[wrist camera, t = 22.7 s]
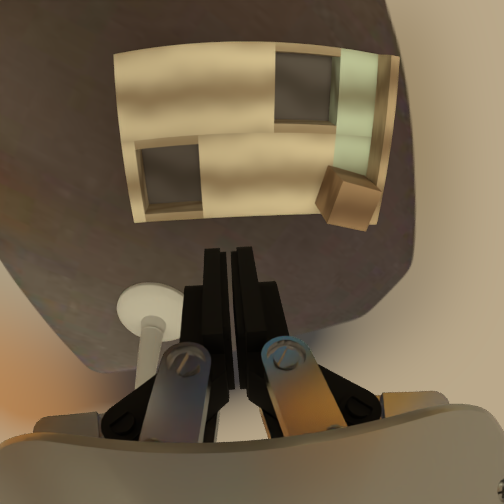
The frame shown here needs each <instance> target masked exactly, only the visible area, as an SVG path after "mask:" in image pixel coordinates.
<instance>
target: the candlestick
mask: <svg viewBox="0 0 504 504" xmlns="http://www.w3.org/2000/svg"><path fill="white" fill-rule="evenodd" d="M183 297H184V294H183V293H181V292H180V291H178V290H177V289H175V288H173V287H171V286H168V285H165V284H161V283H155V282H144V283H138V284H135V285H133V286H130V287H129V288H127V289H126V290H125V291H124V292H123V293H122V294H121V295H120V297H119V300H118V303H117V313H118V316H119V319H120V320H121V322H122V323H123V325H124V326H125V327H126V328H127V329H128V330H129V331H131V332H132V333H134V334H135V335H137V336H139V337H140V344H139V353H138V362H137V373H136V383H135V389H137V388H138V387H139V386H141V385H142V384H143V383H145V382H146V381H147V380H149V379H150V378H151V377H153V376H154V375H155V374H156V370H157V365H158V359H159V354H160V349H161V344H162V342H163V341H171V340H175V339H178V338H180V330H181V318H182V308H183Z"/></svg>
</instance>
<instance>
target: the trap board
mask: <svg viewBox="0 0 504 504" xmlns="http://www.w3.org/2000/svg"><path fill="white" fill-rule="evenodd" d="M399 58H400V57H397V56H393V55H378V54H373V53H368V52H362V51H356V50H350V49H343V48H336V47H328V46H319V45H309V44H297V43H281V42H210V43H194V44H182V45H172V46H163V47H155V48H148V49H141V50H135V51H129V52H124V53H118V54H114V73H115V87H116V99H117V110H118V120H119V129H120V137H121V145H122V152H123V159H124V166H125V173H126V179H127V185H128V191H129V197H130V203H131V208H132V213H133V219H134V223H138V222H152V221H167V220H183V219H200V218H218V217H239V216H262V215H290V214H321V213H320V211H319V209H318V208H317V206H316V205H315V201H316V198H317V195H318V192H319V190H320V187H321V184H322V181H323V178H324V175H325V172H326V169H327V166H328V165H329V166H333V167H337V168H340V169H344V170H347V171H351V172H354V173H358V174H361V175H365V176H366V177H367V178H368V179H369V180H370V181H371V182H372V183H373V184H374V185H375V186H377V187H378V188H379V189H380V190H381V191H382V195H383V190H384V184H385V179H386V173H387V167H388V160H389V154H390V147H391V140H392V133H393V125H394V117H395V107H396V98H397V87H398V74H399ZM382 195H381V197H380V200H379V202H378V204H377V207H376V209H375V211H374V214H373V216H372V218H371V221H370V223H369V224H377V220H378V215H379V210H380V205H381V200H382Z"/></svg>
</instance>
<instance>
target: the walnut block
mask: <svg viewBox="0 0 504 504" xmlns="http://www.w3.org/2000/svg"><path fill="white" fill-rule="evenodd" d="M381 195H382V191H381V190H380V189H379V188H378V187H377V186H375V185H374V184H373V183H372V182H371V181H370V180H369V179H368V178H367V177H366V176H365V175H361V174H358V173H354V172H351V171H347V170H344V169H340V168H337V167H333V166H329V165H328V166H327V169H326V172H325V175H324V178H323V181H322V184H321V187H320V190H319V192H318V195H317V198H316V201H315V205H316V206H317V208H318V209H319V211H320V213H321V214H322V216H323V218H324V219H325V221H326V223H327V224H332V225H337V226H342V227H347V228H352V229H357V230H361V231H366V230H367V228H368V225H369V223H370V221H371V218H372V216H373V214H374V211H375V209H376V207H377V204H378V202H379V200H380V197H381Z"/></svg>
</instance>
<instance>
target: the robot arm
mask: <svg viewBox="0 0 504 504" xmlns="http://www.w3.org/2000/svg"><path fill="white" fill-rule="evenodd" d="M231 268H232V290H233V310H234V323H235V335H236V347H237V358H238V370H239V382H240V389H246V390H247V397H248V398H249V400H250V401H251V402H253V403H254V404H256V405H257V406H259V411H260V414H261V417H262V421H263V424H264V427H265V430H266V433H267V436H268V439H262V440H251V441H238V442H219V443H216V441H217V432H218V424H219V417H220V409H221V408H222V407H223V406H224V405H225V404H226V403H228V402H229V390H232V389H235V384H234V369H233V357H232V342H231V327H230V312H229V296H228V279H227V262H226V252H220V248H213V249H205V251H204V275H203V285H199V286H185V289H184V297H183V308H182V318H181V330H180V342H179V343H178V344H175V345H173V346H171V347H170V348H168V349H167V350H166V351H165V352H164V354H163V356H162V358H161V362H160V365H159V369H158V372H157V374H155V375H154V376H153V377H151V378H150V379H149V380H147V381H146V382H145V383H143V384H142V385H141V386H139V387H138V388H137V389H135V390H134V391H133V392H132V393H130V394H129V395H127V396H126V397H125V398H123V399H122V400H121V401H119V402H118V403H117V404H115V405H114V406H112V407H111V408H110V409H109V410H108V411H107V412H106V413H104V414H98V413H97V412H89V413H80V414H70V415H59V416H47V417H44V418H42V419H40V420H39V421H38V422H37V423H36V425H35V426H34V430H33V433H29V434H23V435H19V436H15V437H12V438H10V439H8V440H5V441H4V442H2V443H1V444H0V504H504V431H503V429H502V428H501V426H500V425H499V423H498V422H497V420H496V419H495V418H494V416H493V415H492V414H491V413H489V412H488V411H487V410H485V409H483V408H481V407H478V406H473V405H467V404H449V401H448V399H447V398H446V397H445V396H444V395H443V394H441V393H439V392H437V391H419V392H388V393H382V395H374V394H373V393H371V392H370V391H368V390H366V389H364V388H362V387H360V386H358V385H356V384H354V383H352V382H351V381H349V380H347V379H345V378H343V377H341V376H339V375H337V374H335V373H333V372H332V371H330V370H328V369H326V368H324V367H323V366H321V365H319V364H317V362H316V360H315V358H314V356H313V354H312V352H311V350H310V348H309V347H308V345H307V344H306V343H305V342H303V341H302V340H300V339H298V338H295V337H291V336H289V332H288V328H287V324H286V320H285V316H284V312H283V308H282V304H281V300H280V296H279V291H278V287H277V284H276V282H275V281H270V282H258V278H257V272H256V267H255V261H254V256H253V250H252V246H251V247H237V251H233V252H231Z"/></svg>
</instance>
